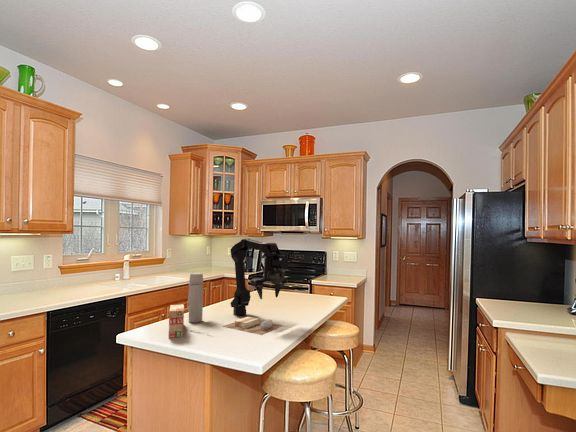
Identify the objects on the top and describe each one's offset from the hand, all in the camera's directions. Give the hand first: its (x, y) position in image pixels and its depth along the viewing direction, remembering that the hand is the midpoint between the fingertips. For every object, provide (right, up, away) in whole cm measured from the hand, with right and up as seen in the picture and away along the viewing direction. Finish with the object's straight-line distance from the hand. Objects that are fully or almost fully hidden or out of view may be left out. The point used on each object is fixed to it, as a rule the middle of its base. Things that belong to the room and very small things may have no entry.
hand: (268, 298), depth 173 cm
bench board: (-7, -13, -7) cm, 17 cm away
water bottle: (-40, -14, +7) cm, 43 cm away
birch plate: (-11, -12, -5) cm, 17 cm away
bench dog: (-1, -12, -12) cm, 16 cm away
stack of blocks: (-43, -13, -11) cm, 47 cm away
